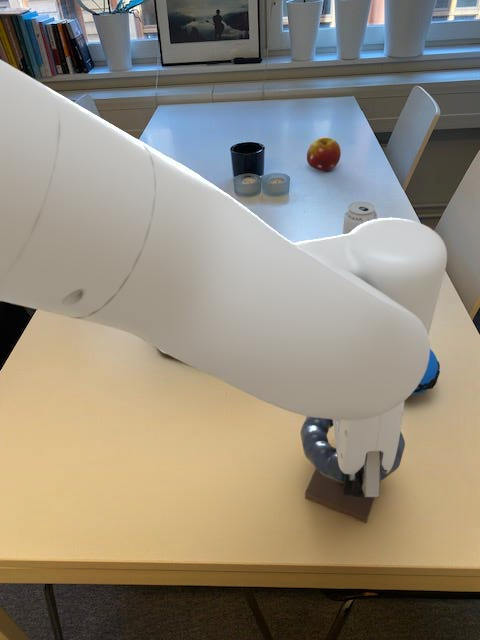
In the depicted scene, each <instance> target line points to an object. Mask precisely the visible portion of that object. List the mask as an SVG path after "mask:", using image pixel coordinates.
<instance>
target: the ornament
mask: <svg viewBox="0 0 480 640" xmlns="http://www.w3.org/2000/svg"><path fill="white" fill-rule="evenodd" d="M440 368H441V366H440V362H439V360H438V359H437V356H436V354H435V353H434V350H432V349H431V348H430V355H429V362H428V365H427V369H426V372H425V374H424V376H423V378H422V380H421V382H420V383H419V385H418V386H417V388H416V389H415V390H414V391H413V393H412V394H411V395H410V396H417V395H421V394H423V393H425V392H427V391H428V390H429V391H430V390H431V391H432V389H433V388H434V387H435V386H436V384H437V383H438V379H439V376H440V374H441V369H440Z"/></svg>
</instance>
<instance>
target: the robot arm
mask: <svg viewBox="0 0 480 640" xmlns="http://www.w3.org/2000/svg"><path fill="white" fill-rule="evenodd" d="M447 263H448V250H447V247H446V245H445V242H444V240H443V239H442V237H441V236H440V235H439V234H438V233H437V232H436V231H435V230H433V229H432V228H430V226H427V225H425V224H423V223H420V222H418V221H414V220H411V219H407V218H400V217H381V218H377V219H375V220H371V221H368V222H365V223H363V224H361V225H359V226H357V227H356V228H354V229H353V230H352V231H351V232H350V233H348V234H343V233H342V234H339V235H334V236H328V237H321V238H315V239H309V240H302V241H296V242H292V241H290V240H289V239H287V237H285V236H283V235H282V234H281V233H279V232H278V231H276V229H274V228H273V227H272V226H270V225H269V224H267V223H266V222H265V221H264V220H263V219H262V218H260V217H259V216H258V215H256V214H255V213H253V212H252V211H251V210H250V209H248V208H247V207H246V206H244V205H243V204H242V203H241V202H239V201H238V200H237V199H235V198H234V197H232V196H231V195H230V194H228V193H226V192H225V191H224V190H222V189H220V188H219V187H217V186H216V185H214V184H213V183H211V181H208V180H207V179H205V178H203V177H202V176H201V175H199V174H198V173H197V172H194V170H192V169H191V168H190V169H189V168H188V167H186V166H185V165H183V164H182V163H180V162H178V161H177V160H174V159H173V158H171V157H169V156H168V155H165V154H164V153H162V152H160V151H158V150H156V149H155V148H154V147H151V146H150V145H148V144H146V142H145V143H144V141H142V140H140V139H138V138H135V137H134V136H132V135H131V134H129V133H127V132H125V131H123V130H122V129H120V128H118V127H116V126H115V125H113V124H112V123H109V122H108V121H106V120H105V119H104V118H102V117H100V116H98V115H97V114H94V113H92V112H91V111H89V110H87V109H86V108H85V107H82V106H81V105H79V104H78V103H76V102H74V101H72V100H71V99H69V98H67V97H65V96H63V95H62V94H60V93H59V92H56V91H55V90H53V89H52V88H50V87H48V86H47V85H45V84H43V83H42V82H40V81H38V80H37V79H35V78H33V77H31V76H30V75H28V74H26V73H25V72H23V71H21V70H20V69H18V68H16V67H14V66H12V65H11V64H9V63H7V62H6V61H4V60H3V59H0V302H3V303H4V302H5V303H9V304H11V305H16V306H21V307H25V308H29V309H34V310H38V311H42V312H47V313H51V314H54V315H55V314H56V315H59V316H62V317H63V316H64V317H68V318H71V319H75V320H80V321H84V322H89V323H93V324H97V325H101V326H105V327H109V328H114V329H117V330H120V331H123V332H126V333H129V334H131V335H133V336H135V337H137V338H139V339H141V340H143V341H144V342H147V343H148V344H150V345H151V346H153V347H155V348H156V349H158V350H159V349H160V350H161V351H163V352H165V353H167V354H169V355H168V356H170V357H172V358H174V359H176V360H178V361H180V362H182V363H184V364H187V365H189V366H190V367H193V368H194V369H197V370H199V371H201V372H203V373H204V374H205V373H206V374H207V375H209V376H212V377H213V378H216V379H217V380H219V381H222V382H224V383H226V384H228V385H230V386H231V387H234V388H235V389H238V390H240V391H242V392H243V393H245V394H248V395H250V396H252V397H254V398H256V399H258V400H260V401H263V402H265V403H267V404H270V405H272V406H274V407H277V408H280V409H282V410H285V411H286V412H287V411H288V412H291V413H294V414H297V415H301V416H305V417H307V416H310V417H316V418H324V419H333V426H332V428H333V435H334V443H335V448H336V451H337V458H338V464H339V468H340V469H341V471H342V472H343V473H344V474H345V477H344V484H343V494H344V495H353V496H354V497H370V498H375V499H377V498H379V497H380V484H379V476H380V463H381V468H382V472H384V473H385V474H387V473H388V472H389V471H390V470H391V468H392V466H393V464H394V461H395V457H396V453H397V448H398V443H399V438H400V432H401V433H402V424H403V417H404V414H405V413H404V408H405V402H406V400H407V399H408V398H409V397H410V396H412V395H411V394H412V393H413V391H414V390H415V389H416V388H417V386H418V385H419V383H420V382H421V380H422V378H423V376H424V374H425V372H426V369H427V365H428V362H429V355H430V349H431V344H430V336H429V335H430V331H431V327H432V324H433V318H434V315H435V311H436V308H437V304H438V300H439V297H440V296H439V295H440V292H441V288H442V284H443V280H444V276H445V272H446V268H447ZM161 351H160V352H161ZM167 354H166V355H167ZM363 465H364V467H362V466H363Z"/></svg>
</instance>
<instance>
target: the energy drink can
mask: <svg viewBox="0 0 480 640" xmlns="http://www.w3.org/2000/svg"><path fill="white" fill-rule="evenodd" d="M375 219H378V214H377V211H376V206H375V204H373V203H371V202H368V201H353V202H351V203H350V204H348V206H347V210H346V211H345V212H344V214H343V225H342V235H343V234H348V233H350V232H351V231H352V230H353V229H354V228H356V227H357V226H359V225H361V224H363V223H365V222H368V221H371V220H375Z"/></svg>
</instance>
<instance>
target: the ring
mask: <svg viewBox="0 0 480 640" xmlns="http://www.w3.org/2000/svg"><path fill="white" fill-rule="evenodd" d="M331 428H333V419H324V418H316V417H310V416H306V417H305V419H304V422H303V424H302V426H301V428H300V439H301V444H302V449H303V454H304V456H305V458H306V459H307V461H309V463H310V464H312V466H313V467H314V468H315V469H317V470H318V471H319V472H320V473H321V474H322V475H323V476H325V477H328V478H330V479H333V480H335V481H338V482H341V483H343V484H344V477H345V474H344V473H343V472H342V471H341V469H340V468H339V464H338V458H337V451H336V450H335V449H334V448H335V447H334V448H333V446H332V445H331V444H330V442H329V438H328V433H329V430H330V429H331ZM405 447H406V441H405V438H404V436H403V433H402V431H401V432H400V438H399V443H398V448H397V453H396V457H395V461H394V464H393V466H392V468H391V470H390V471H389V472H388V473H387V474H385V473H384V472H382V468H381V463H380V476H379V482H380V483H381V482H382V481H383V480H385V478H387V477H389V476H390V475H391V474H392V473H394V472H395V471H397V470H398V468H399V467H400V465H401V461H402V458H403V454H404V451H405ZM362 467H364V465H363V466H362Z"/></svg>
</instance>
